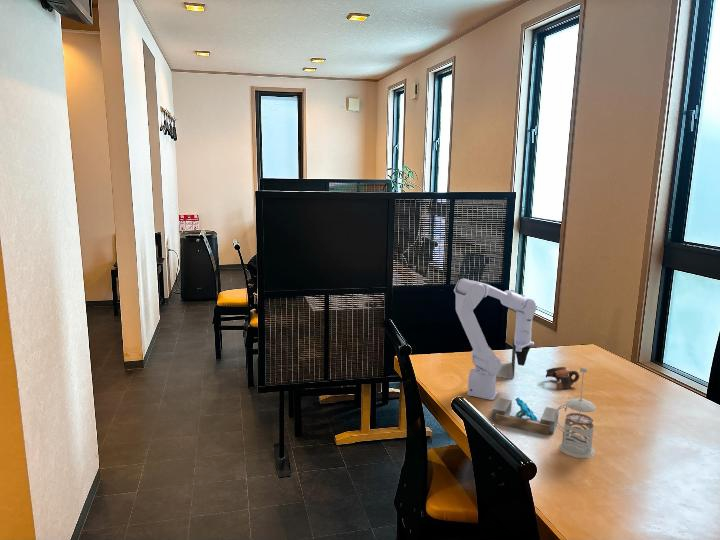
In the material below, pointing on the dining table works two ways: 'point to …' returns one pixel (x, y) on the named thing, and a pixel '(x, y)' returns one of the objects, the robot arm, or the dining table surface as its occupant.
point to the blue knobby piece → (525, 410)
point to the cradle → (503, 418)
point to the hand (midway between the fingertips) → (521, 364)
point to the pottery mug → (563, 377)
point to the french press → (576, 443)
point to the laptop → (508, 366)
